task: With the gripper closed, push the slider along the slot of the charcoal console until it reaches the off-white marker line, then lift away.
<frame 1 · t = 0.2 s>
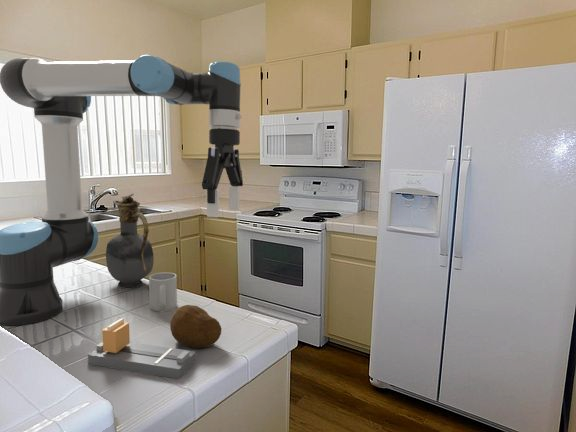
hand: (224, 213, 99), 28 cm above the worktop, fingers open, 13 cm apart
console: (142, 362, 78), on the worktop
potato: (192, 345, 87), on the worktop
slider: (116, 334, 79), point 5 cm above the worktop, slide at 0.0 cm
cup: (163, 309, 106), on the worktop
pitcher: (133, 286, 124), on the worktop
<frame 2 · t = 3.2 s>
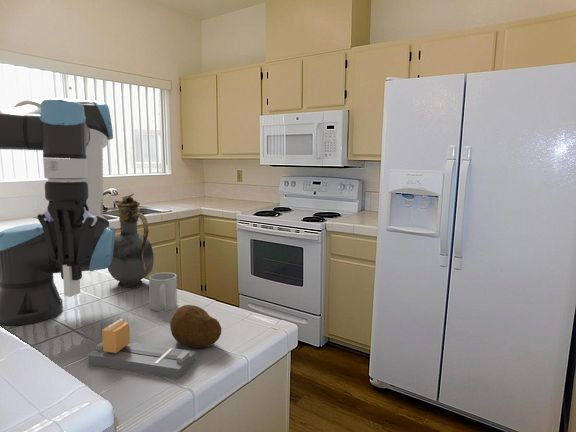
hand: (72, 294, 80), 13 cm above the worktop, fingers closed
nothing on the worktop moved.
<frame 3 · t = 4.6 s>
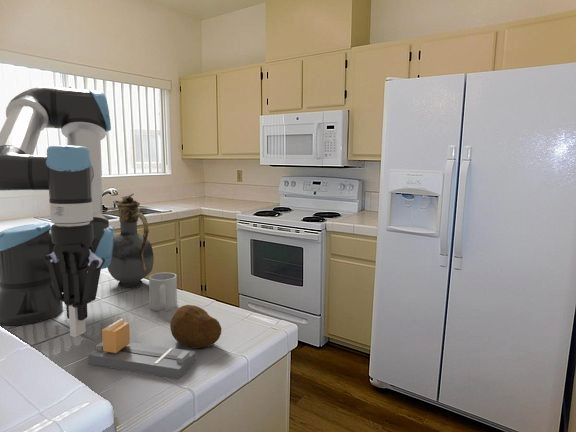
hand: (78, 333, 81), 4 cm above the worktop, fingers closed
nothing on the worktop moved.
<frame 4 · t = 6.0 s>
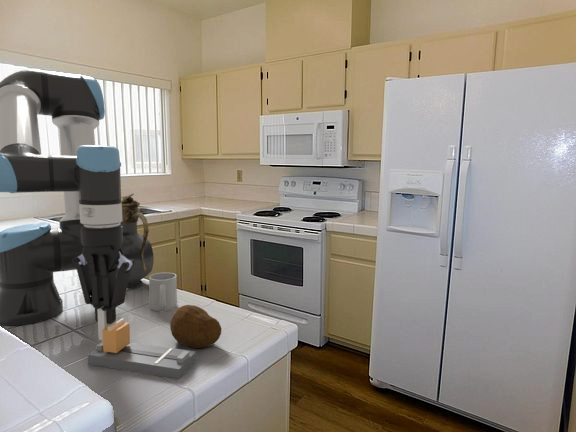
hand: (106, 337, 79), 4 cm above the worktop, fingers closed
slider: (116, 334, 79), point 5 cm above the worktop, slide at 0.1 cm, touching gripper
everything else where it was.
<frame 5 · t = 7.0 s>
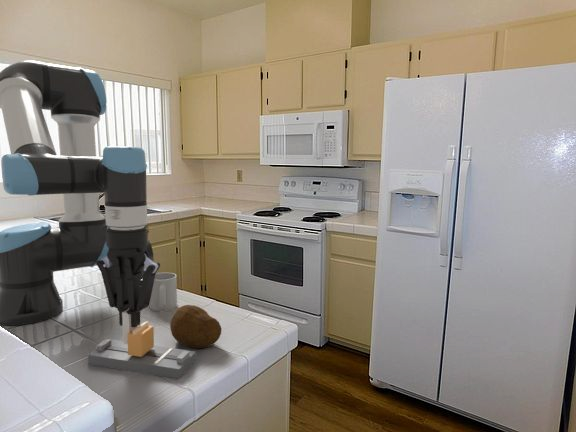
hand: (130, 340, 78), 4 cm above the worktop, fingers closed
slider: (140, 338, 78), point 5 cm above the worktop, slide at 5.7 cm, touching gripper
everything else where it was.
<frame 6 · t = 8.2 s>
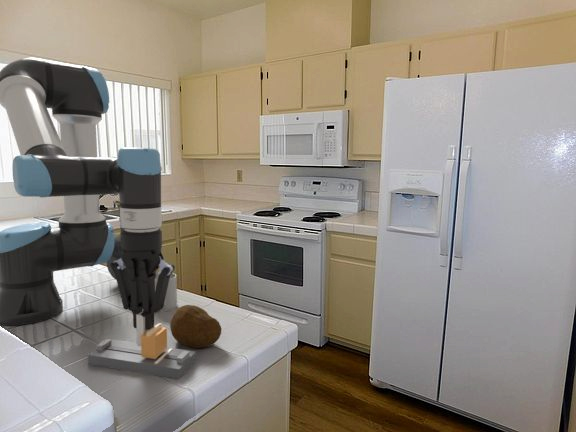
hand: (144, 343, 78), 4 cm above the worktop, fingers closed
slider: (154, 340, 77), point 5 cm above the worktop, slide at 8.7 cm, touching gripper
everything else where it was.
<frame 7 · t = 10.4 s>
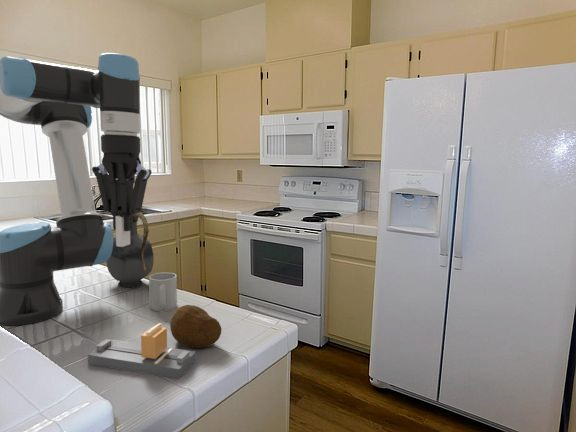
hand: (123, 245, 83), 22 cm above the worktop, fingers closed
slider: (154, 340, 77), point 5 cm above the worktop, slide at 8.7 cm
everything else where it was.
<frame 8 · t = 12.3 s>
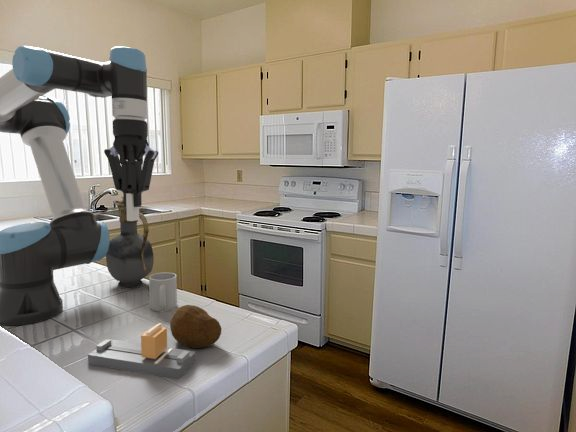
hand: (133, 220, 92), 26 cm above the worktop, fingers closed
nothing on the worktop moved.
at the end: slider slide at 8.7 cm; the gripper is holding nothing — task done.
